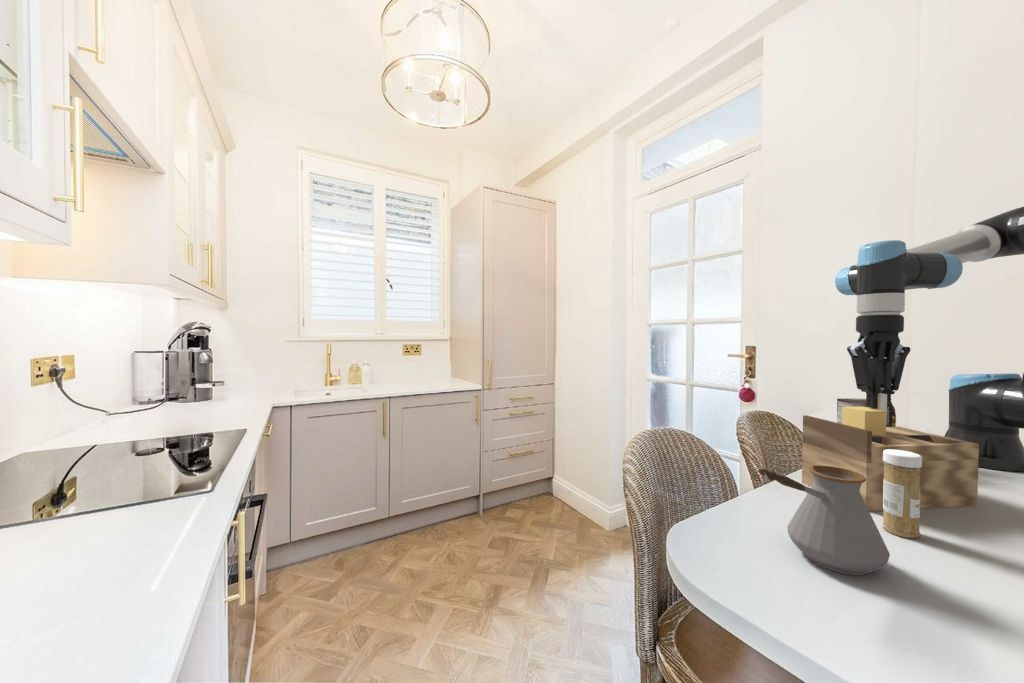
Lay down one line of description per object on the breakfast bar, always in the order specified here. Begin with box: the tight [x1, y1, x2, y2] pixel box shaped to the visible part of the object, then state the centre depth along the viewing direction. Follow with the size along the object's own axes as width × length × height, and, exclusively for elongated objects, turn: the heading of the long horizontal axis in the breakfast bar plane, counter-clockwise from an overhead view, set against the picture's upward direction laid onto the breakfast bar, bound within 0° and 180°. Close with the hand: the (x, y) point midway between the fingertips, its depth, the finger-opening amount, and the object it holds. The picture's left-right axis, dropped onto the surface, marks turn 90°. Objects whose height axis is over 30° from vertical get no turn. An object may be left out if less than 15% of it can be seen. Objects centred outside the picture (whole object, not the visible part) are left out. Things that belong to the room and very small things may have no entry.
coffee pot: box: [750, 465, 891, 576], centre depth 55 cm, size 21×12×15 cm, turn 108°
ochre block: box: [842, 406, 886, 435], centre depth 83 cm, size 5×5×5 cm
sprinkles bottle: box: [881, 449, 922, 539], centre depth 64 cm, size 5×5×14 cm
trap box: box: [801, 415, 979, 512], centre depth 80 cm, size 24×14×15 cm, turn 96°
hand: (876, 423), depth 84 cm, fingers closed
